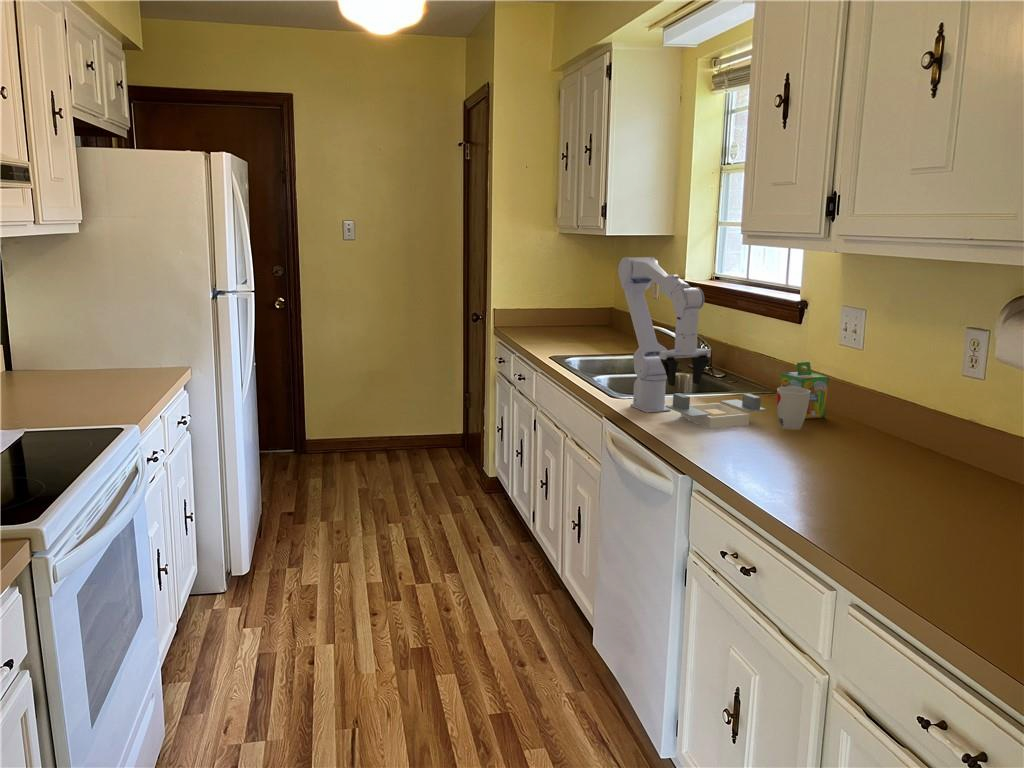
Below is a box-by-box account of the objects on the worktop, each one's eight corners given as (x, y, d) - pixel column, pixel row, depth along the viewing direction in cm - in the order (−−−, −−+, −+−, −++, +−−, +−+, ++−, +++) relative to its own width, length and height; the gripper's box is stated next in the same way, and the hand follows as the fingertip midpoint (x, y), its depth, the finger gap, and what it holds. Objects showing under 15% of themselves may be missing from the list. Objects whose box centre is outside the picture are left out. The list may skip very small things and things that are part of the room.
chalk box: (800, 420, 218) (804, 366, 215) (777, 413, 226) (781, 361, 223) (826, 417, 221) (831, 364, 218) (803, 410, 229) (807, 359, 226)
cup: (779, 422, 216) (782, 385, 214) (810, 426, 211) (814, 389, 209) (770, 428, 209) (773, 390, 207) (802, 432, 205) (805, 394, 203)
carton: (680, 416, 221) (681, 406, 220) (717, 413, 225) (718, 402, 224) (710, 428, 208) (711, 417, 207) (749, 425, 212) (749, 414, 211)
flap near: (665, 406, 217) (666, 393, 217) (683, 405, 219) (683, 392, 219) (691, 417, 206) (691, 403, 205) (709, 415, 208) (710, 401, 207)
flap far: (720, 402, 224) (721, 389, 223) (737, 400, 226) (738, 388, 225) (748, 412, 212) (749, 398, 211) (765, 410, 214) (766, 397, 213)
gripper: (670, 337, 205) (668, 389, 208) (718, 334, 210) (715, 385, 213) (656, 333, 212) (654, 384, 215) (703, 331, 217) (700, 380, 220)
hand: (683, 384), depth 214 cm, fingers open, 7 cm apart
